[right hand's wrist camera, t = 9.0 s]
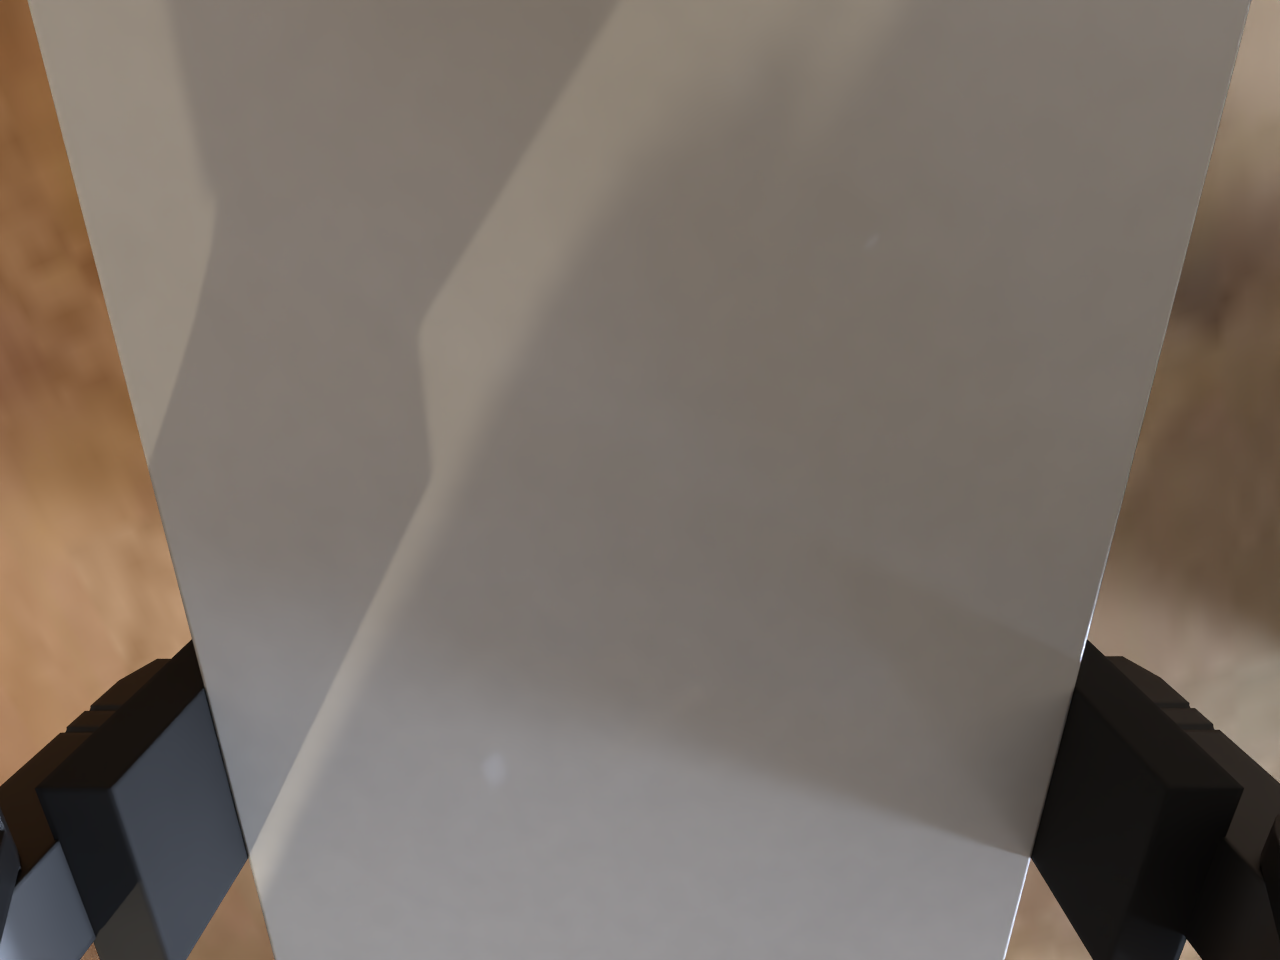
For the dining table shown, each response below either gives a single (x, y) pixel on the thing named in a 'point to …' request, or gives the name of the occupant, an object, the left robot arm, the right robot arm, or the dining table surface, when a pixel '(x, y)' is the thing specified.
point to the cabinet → (639, 439)
